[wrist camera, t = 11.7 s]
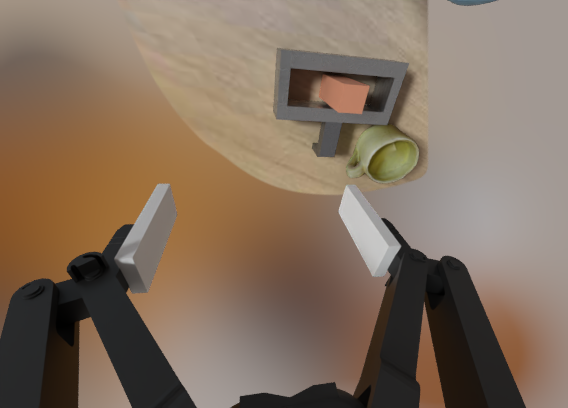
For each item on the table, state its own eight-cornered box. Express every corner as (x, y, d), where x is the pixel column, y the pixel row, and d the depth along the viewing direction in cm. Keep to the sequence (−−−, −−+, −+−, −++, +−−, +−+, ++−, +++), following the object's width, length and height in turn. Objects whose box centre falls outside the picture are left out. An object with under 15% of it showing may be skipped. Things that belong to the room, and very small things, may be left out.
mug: (412, 107, 40) (432, 146, 35) (397, 150, 49) (411, 186, 43) (342, 116, 42) (350, 154, 36) (339, 156, 50) (346, 192, 45)
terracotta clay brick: (318, 96, 39) (338, 112, 31) (322, 73, 37) (344, 84, 29) (338, 98, 39) (361, 113, 31) (343, 75, 37) (369, 86, 29)
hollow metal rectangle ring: (276, 48, 34) (281, 49, 30) (391, 60, 37) (409, 63, 33) (271, 146, 43) (273, 157, 39) (363, 149, 46) (374, 160, 42)
